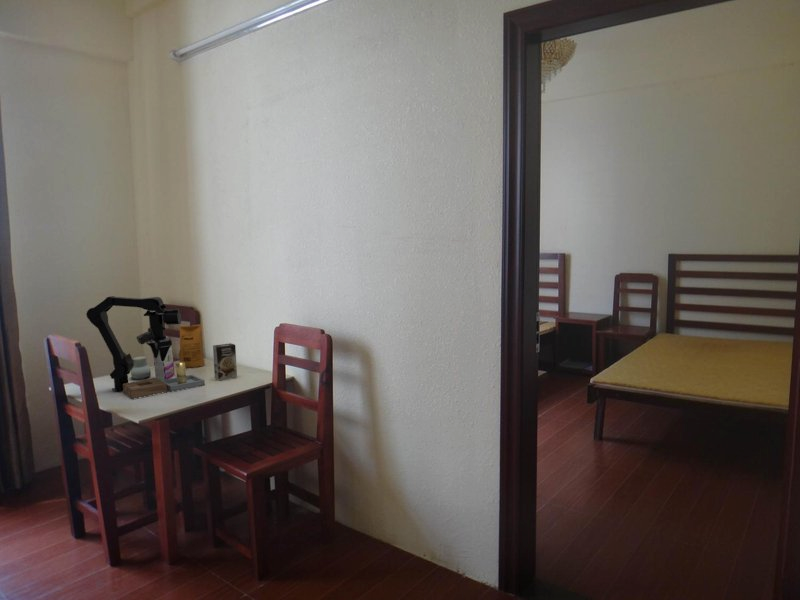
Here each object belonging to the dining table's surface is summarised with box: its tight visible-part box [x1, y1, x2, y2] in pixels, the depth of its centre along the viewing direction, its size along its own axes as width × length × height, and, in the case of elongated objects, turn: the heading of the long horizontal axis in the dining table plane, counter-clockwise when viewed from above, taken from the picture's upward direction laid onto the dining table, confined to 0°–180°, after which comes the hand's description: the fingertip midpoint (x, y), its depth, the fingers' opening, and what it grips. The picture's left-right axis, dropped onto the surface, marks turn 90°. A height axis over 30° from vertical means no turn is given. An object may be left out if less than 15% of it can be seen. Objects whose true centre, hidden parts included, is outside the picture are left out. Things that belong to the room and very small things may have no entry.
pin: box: [174, 361, 187, 385], centre depth 251 cm, size 4×4×10 cm
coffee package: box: [178, 323, 205, 369], centre depth 289 cm, size 10×12×22 cm
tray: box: [161, 374, 206, 393], centre depth 252 cm, size 14×15×2 cm
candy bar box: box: [153, 344, 176, 380], centre depth 265 cm, size 11×5×16 cm, turn 0°
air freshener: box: [130, 356, 152, 380], centre depth 268 cm, size 11×8×10 cm
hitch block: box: [122, 377, 168, 400], centre depth 242 cm, size 14×14×4 cm
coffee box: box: [212, 342, 238, 382], centre depth 263 cm, size 9×6×16 cm
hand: (159, 359), depth 248 cm, fingers open, 9 cm apart
